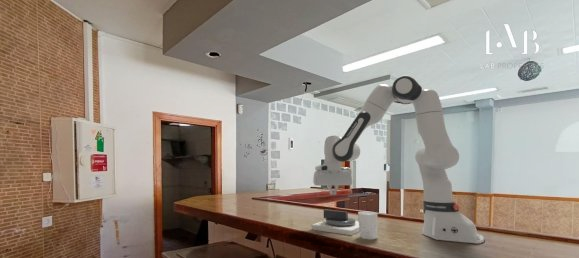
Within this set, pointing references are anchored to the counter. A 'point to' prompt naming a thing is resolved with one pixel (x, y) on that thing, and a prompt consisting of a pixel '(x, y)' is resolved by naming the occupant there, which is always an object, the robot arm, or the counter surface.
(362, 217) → the white cup
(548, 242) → the counter surface
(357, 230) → the dial panel
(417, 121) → the robot arm
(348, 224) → the dial
